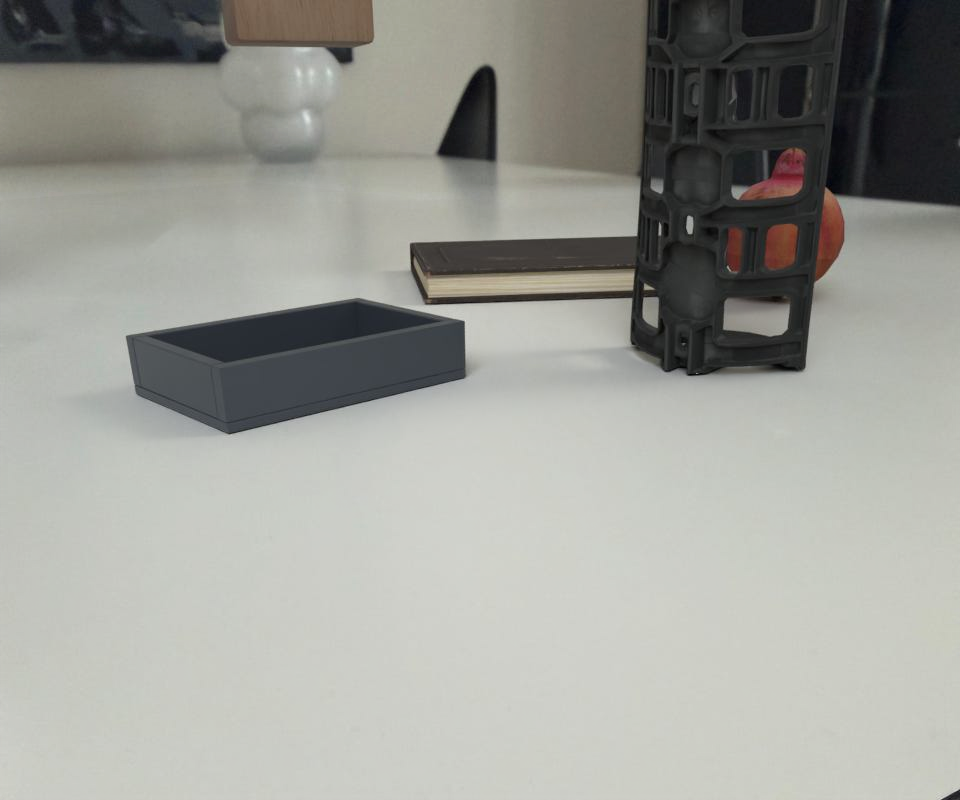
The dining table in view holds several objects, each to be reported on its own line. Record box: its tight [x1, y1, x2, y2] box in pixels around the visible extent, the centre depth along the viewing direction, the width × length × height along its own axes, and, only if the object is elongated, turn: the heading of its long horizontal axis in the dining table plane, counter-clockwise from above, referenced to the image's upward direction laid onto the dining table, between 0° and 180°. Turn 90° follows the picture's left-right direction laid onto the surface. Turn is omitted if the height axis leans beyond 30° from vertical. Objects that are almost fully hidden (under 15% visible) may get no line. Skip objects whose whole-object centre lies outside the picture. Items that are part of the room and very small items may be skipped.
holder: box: [629, 0, 848, 375], centre depth 52 cm, size 11×8×20 cm
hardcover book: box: [409, 234, 728, 305], centre depth 81 cm, size 16×23×2 cm
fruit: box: [727, 148, 845, 302], centre depth 71 cm, size 8×8×10 cm
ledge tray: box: [125, 297, 467, 434], centre depth 53 cm, size 10×15×3 cm, turn 132°
